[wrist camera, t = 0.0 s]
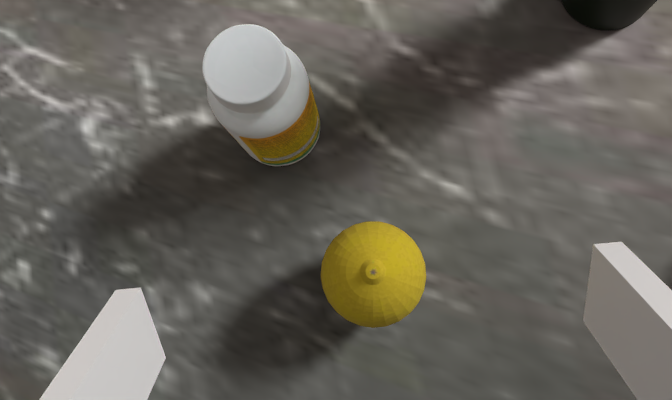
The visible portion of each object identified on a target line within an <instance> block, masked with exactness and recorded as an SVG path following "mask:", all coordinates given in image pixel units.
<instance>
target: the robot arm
mask: <svg viewBox="0 0 672 400" xmlns="http://www.w3.org/2000/svg"><path fill="white" fill-rule="evenodd" d="M583 322H584V323H585V325H586V326H587V328H588V329H589V331H590V332H591V333H592V335H593V336H594V338H595V339H596V341H597V342H598V344H599V345H600V346H601V348H602V349H603V351H604V352H605V354H606V355H607V357H608V358H609V360H610V361H611V362H612V364H613V365H614V367H615V368H616V370H617V371H618V373H619V374H620V375H621V377H622V378H623V380H624V381H625V383H626V384H627V386H628V387H629V388H630V390H631V391H632V393H633V394H634V396H635V397H636V399H637V400H672V290H671V289H670V288H669V287H668V286H667V285H666V284H665V283H664V282H663V281H661V280H660V279H659V278H658V277H657V276H656V275H655V274H654V273H653V272H652V271H651V270H650V269H649V268H648V267H647V266H646V265H645V264H644V263H643V262H642V261H641V260H640V259H639V258H638V257H637V256H636V255H635V254H634V253H633V252H632V251H630V250H629V249H628V248H627V247H626V246H625V245H624V244H623V243H622V242H613V243H602V244H593V251H592V259H591V266H590V274H589V281H588V289H587V296H586V304H585V311H584V319H583ZM165 358H166V357H165V354H164V351H163V348H162V345H161V343H160V340H159V337H158V334H157V332H156V329H155V326H154V323H153V320H152V318H151V315H150V312H149V309H148V307H147V304H146V301H145V298H144V295H143V293H142V290H141V288H132V289H121V290H115V292H114V293H113V295H112V296H111V298H110V299H109V300H108V302H107V303H106V305H105V306H104V308H103V309H102V310H101V312H100V313H99V315H98V316H97V318H96V319H95V321H94V322H93V323H92V325H91V326H90V328H89V329H88V331H87V332H86V333H85V335H84V336H83V338H82V339H81V341H80V342H79V343H78V345H77V346H76V348H75V349H74V351H73V352H72V354H71V355H70V356H69V358H68V359H67V361H66V362H65V364H64V365H63V366H62V368H61V369H60V371H59V372H58V374H57V375H56V377H55V378H54V379H53V381H52V382H51V384H50V385H49V387H48V388H47V389H46V391H45V392H44V394H43V395H42V397H41V398H40V399H39V400H147V399H148V396H149V394H150V392H151V390H152V387H153V385H154V383H155V381H156V379H157V376H158V374H159V372H160V370H161V367H162V365H163V363H164V361H165Z"/></svg>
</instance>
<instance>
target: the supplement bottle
mask: <svg viewBox="0 0 672 400" xmlns="http://www.w3.org/2000/svg"><path fill="white" fill-rule="evenodd" d="M202 69H203V75H204V79H205V82H206V84H207V96H208V102H209V105H210V108H211V110H212V112H213V114H214V116H215V117H216V119H217V120H218V121H219V122H220V123H221V125H222V126H223V127H224V128H225V129H226V130H227V131H228V132H229V133H230V134H231V135H232V136H233V137H234V138H235V140H236V141H237V142H238V143H239V144H240V145H241V146H242V147H243V149H244V150H245V151H246V152H247V153H248V154H249V155H250V156H251V157H253V158H254V159H255V160H257V161H259V162H261V163H263V164H266V165H270V166H285V165H290V164H293V163H296V162H298V161H300V160H302V159H303V158H304V157H306V156H307V155H308V154H309V153H310V152H311V151H312V149H313V148H314V146H315V145H316V143H317V141H318V138H319V134H320V118H319V113H318V109H317V106H316V102H315V99H314V95H313V93H312V89H311V85H310V81H309V77H308V75H307V72H306V70H305V67H304V65H303V64H302V62H301V60H300V59H299V58H298V56H297V55H296V54H295V53H294V52H293V51H292V50H290V49H289V48H287V47H286V46H284V45H283V44H282V43H281V41H280V40H279V39H278V37H277V36H276V35H275V34H274V33H272V32H271V31H269V30H268V29H266V28H264V27H261V26H258V25H253V24H243V25H236V26H233V27H230V28H228V29H226V30H224V31H223V32H221V33H220V34H219V35H218V36H216V37H215V38H214V39H213V41H212V42H211V43H210V44H209V46H208V48H207V50H206V52H205V54H204V58H203V65H202Z"/></svg>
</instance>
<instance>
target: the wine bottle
mask: <svg viewBox="0 0 672 400" xmlns="http://www.w3.org/2000/svg"><path fill="white" fill-rule="evenodd" d="M656 1H657V0H562V2H563V5H564V6H565V8H566V10H567V11H568V12H569V14H570V15H571V16H572V17H573V18H575V19H576V20H577V21H579V22H580V23H582V24H584V25H586V26H588V27H591V28H595V29H600V30H614V29H619V28H623V27H626V26H628V25H630V24H632V23H634V22H635V21H637V20H638V19H639V18H640V17H641V16H642V15H643V14H644V13H645V12H646V11H647V10H648V9H649V8H650V7H651V6H652V5H653V4H654V3H655V2H656Z"/></svg>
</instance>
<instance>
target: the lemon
mask: <svg viewBox="0 0 672 400" xmlns="http://www.w3.org/2000/svg"><path fill="white" fill-rule="evenodd" d="M321 281H322V286H323V290H324V293H325V295H326V297H327V300H328V302H329V303H330V304H331V306H332V307H333V308H334V309H335V311H336V312H337V313H338V314H340V315H341V316H342V317H344V318H345V319H346V320H348V321H350V322H352V323H355V324H357V325H359V326H365V327H372V328H375V327H384V326H388V325H391V324H393V323H396V322H399V321H400V320H402V319H403V318H404V317H406V316H407V315H408V314H410V313H411V311H412V310H413V309H414V308H415V306H416V305H417V304H418V303H419V300H420V298H421V296H422V294H423V292H424V287H425V281H426V269H425V262H424V260H423V257H422V254H421V251H420V250H419V248H418V246H417V245H416V243H415V242H414V240H413V239H412V238H411V237H409V236H408V235H407V234H406V233H405V232H404V231H402V230H401V229H399V228H397V227H395V226H393V225H391V224H387V223H383V222H363V223H359V224H355V225H353V226H351V227H349V228H347V229H345V230H343V231H342V232H341V233H340V234H339V235H338V236H337V237H335V238H334V239H333V241H332V242H331V244H330V245H329V247H328V248H327V250H326V252H325V255H324V258H323V261H322V267H321Z"/></svg>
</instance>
